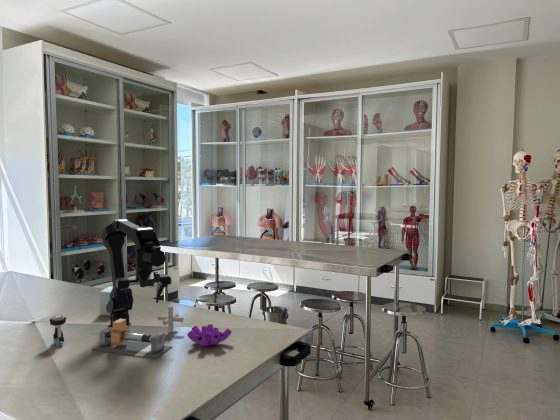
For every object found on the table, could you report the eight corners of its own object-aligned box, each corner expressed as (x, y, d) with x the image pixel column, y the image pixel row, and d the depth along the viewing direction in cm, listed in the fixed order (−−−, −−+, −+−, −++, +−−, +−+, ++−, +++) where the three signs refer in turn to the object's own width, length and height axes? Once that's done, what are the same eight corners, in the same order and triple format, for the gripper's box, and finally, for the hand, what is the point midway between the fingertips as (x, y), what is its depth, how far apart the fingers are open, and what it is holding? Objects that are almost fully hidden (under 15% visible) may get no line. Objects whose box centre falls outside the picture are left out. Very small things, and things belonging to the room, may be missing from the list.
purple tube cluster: (219, 360, 146) (206, 343, 141) (189, 349, 155) (177, 333, 150) (237, 333, 152) (225, 316, 147) (208, 325, 161) (196, 308, 156)
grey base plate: (91, 350, 145) (91, 348, 145) (110, 339, 155) (110, 338, 155) (156, 358, 138) (156, 357, 138) (171, 347, 148) (171, 346, 148)
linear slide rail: (100, 346, 147) (100, 331, 147) (109, 341, 152) (109, 326, 152) (156, 354, 141) (156, 338, 141) (164, 348, 146) (164, 333, 146)
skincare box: (114, 315, 183) (113, 291, 182) (99, 315, 183) (98, 291, 182) (123, 308, 193) (123, 286, 193) (109, 308, 194) (109, 285, 193)
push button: (70, 345, 149) (69, 317, 149) (53, 349, 146) (52, 320, 145) (64, 340, 154) (63, 313, 153) (48, 343, 150) (47, 316, 150)
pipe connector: (177, 337, 158) (177, 310, 157) (152, 335, 160) (152, 309, 159) (188, 328, 168) (188, 303, 167) (164, 326, 170) (164, 302, 169)
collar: (111, 344, 146) (110, 322, 145) (120, 339, 151) (120, 318, 150) (118, 345, 145) (118, 323, 144) (127, 340, 150) (127, 318, 149)
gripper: (119, 268, 143) (119, 314, 144) (174, 264, 151) (174, 307, 152) (115, 262, 152) (116, 305, 154) (168, 259, 161) (168, 299, 162)
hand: (144, 304), depth 155 cm, fingers open, 9 cm apart
